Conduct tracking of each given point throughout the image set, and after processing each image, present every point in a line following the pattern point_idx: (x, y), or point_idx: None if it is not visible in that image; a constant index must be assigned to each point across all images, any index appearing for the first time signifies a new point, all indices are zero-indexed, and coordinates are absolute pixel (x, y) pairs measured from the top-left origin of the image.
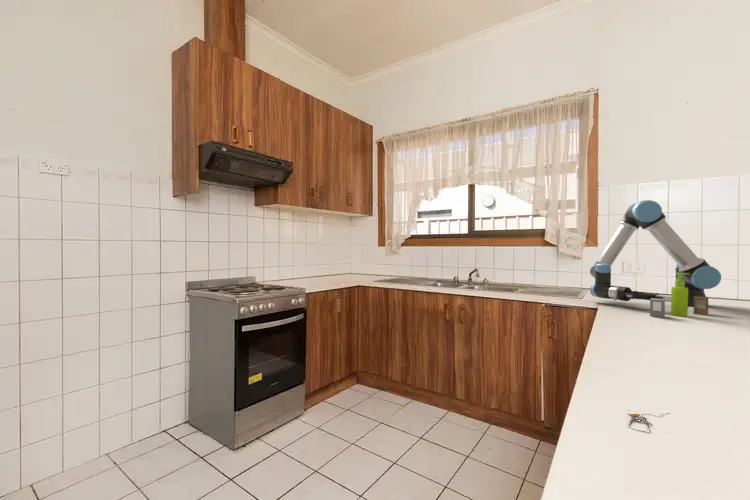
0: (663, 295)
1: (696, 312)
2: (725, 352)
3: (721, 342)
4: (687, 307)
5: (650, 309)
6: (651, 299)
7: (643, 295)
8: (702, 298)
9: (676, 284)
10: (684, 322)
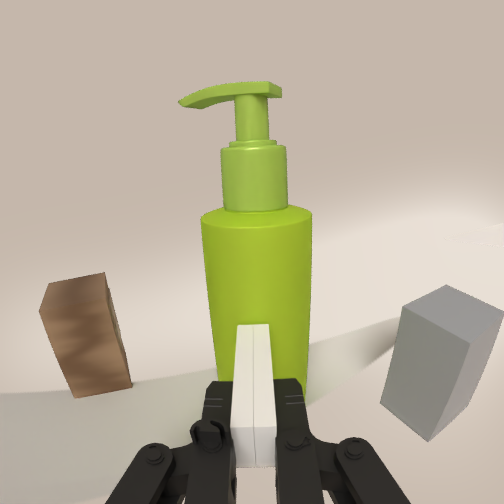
0: (234, 377)
1: (128, 372)
2: (495, 232)
3: (470, 242)
4: None
5: (481, 371)
6: (498, 309)
7: (402, 501)
8: (105, 284)
9: (285, 187)
10: None
